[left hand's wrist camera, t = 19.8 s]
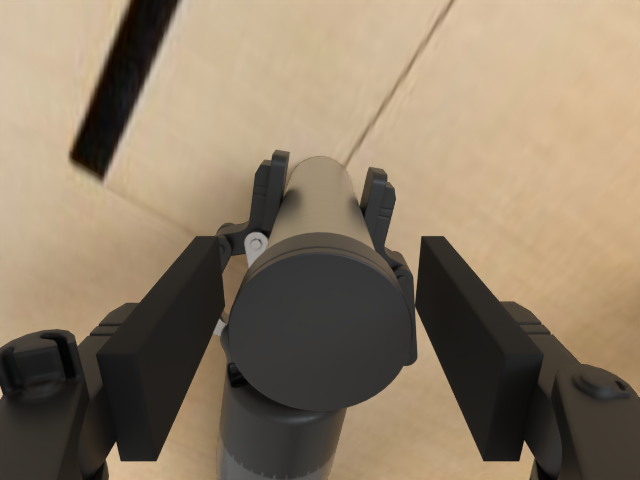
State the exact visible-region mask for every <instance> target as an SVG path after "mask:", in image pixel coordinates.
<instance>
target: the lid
mask: <svg viewBox="0 0 640 480" xmlns="http://www.w3.org/2000/svg"><path fill="white" fill-rule="evenodd" d="M227 331H228V343H229V347H230V351H231V354H232V357H233V359H234V362H235V363H236V365H237V367H238V369H239V371H240V372H241V373H242V375H243V376H244V377H245V379H246V380H247V381H248V382H249V383H250V384H251V385H252V386H253V387H255V388H256V389H257V390H258V391H259V392H261V393H262V394H264V395H265V396H267V397H269V398H270V399H272V400H275V401H277V402H279V403H281V404H284V405H287V406H290V407H294V408H298V409H303V410H311V411H328V410H337V409H342V408H347V407H350V406H354V405H356V404H359V403H361V402H364V401H366V400H368V399H370V398H371V397H373V396H375V395H376V394H378V393H379V392H381V391H382V390H383V389H385V388H386V387H387V386H388V385H389V384H390V383H391V382H392V381H393V380H394V379H395V377H396V376H397V375H398V374H399V372H400V371H401V369H402V368H403V366H404V364H405V362H406V360H407V358H408V355H409V352H410V348H411V344H412V337H413V324H412V319H411V314H410V311H409V308H408V305H407V302H406V300H405V298H404V295H403V292H402V290H401V288H400V285H399V283H398V280H397V278H396V276H395V274H394V272H393V270H392V269H391V267H390V266H389V265H388V263H387V262H386V261H385V260H384V259H383V258H382V257H381V256H380V254H378V253H377V252H376V251H375V250H373V249H372V248H371V247H369V246H367V245H366V244H364V243H362V242H361V241H358V240H356V239H354V238H351V237H348V236H344V235H341V234H335V233H329V232H313V233H304V234H300V235H295V236H292V237H289V238H287V239H284V240H282V241H280V242H278V243H276V244H274V245H273V246H271V247H270V248H268V249H267V250H265V251H264V252H263V253H262V254H261V255H260V256H259V257H258V258H257V259H256V260H255V261H254V262H253V264H252V265H251V266H250V268H249V269H248V271H247V273H246V274H245V277H244V279H243V281H242V284H241V286H240V288H239V291H238V293H237V296H236V298H235V301H234V303H233V306H232V308H231V311H230V315H229V319H228V329H227Z"/></svg>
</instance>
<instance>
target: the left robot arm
mask: <svg viewBox="0 0 640 480" xmlns="http://www.w3.org/2000/svg"><path fill="white" fill-rule="evenodd" d="M224 307H225V300H224V290H223V279H222V269H221V258H220V248H219V237H218V236H196V237H195V238H194V240H193V241H192V242H191V243H190V244H189V245H188V247H187V248H186V249H185V250H184V251H183V253H182V254H181V255H180V256H179V257H178V258H177V260H176V261H175V262H174V263H173V264H172V265H171V267H170V268H169V269H168V270H167V271H166V272H165V274H164V275H163V276H162V277H161V278H160V279H159V281H158V282H157V283H156V284H155V285H154V287H153V288H152V289H151V290H150V291H149V292H148V294H147V295H146V296H145V297H144V298H143V299H142V301H141V302H140V303H125V304H124V305H122V306H120V307H119V308H117V309H115V310H113V311H112V312H110V313H109V314H108V315H107V316H106V317H105V318H104V319H103V320H102V321H101V322H100V323H99V326H97V327H96V328H95V329H94V330H93V331H92V332H91V333H90V336H87V337H86V338H85V339H84V340H83V341H82V342H81V343H80V345H79V346H78V347H77V344H76V340H75V336H74V335H73V334H72V333H70V332H69V331H65V330H59V329H54V330H43V331H39V332H35V333H31V334H27V335H25V336H22V337H20V338H17V339H15V340H12V341H10V342H9V343H7V344H6V345H4V346H2V347H1V348H0V387H1V390H2V392H3V396H2V398H1V399H0V480H108V479H109V473H108V467H107V463H106V458H107V456H108V454H109V452H110V451H111V449H112V447H113V446H114V444H115V442H116V443H117V447H118V451H119V456H120V460H121V461H157V459H158V456H159V454H160V452H161V450H162V447H163V445H164V443H165V441H166V438H167V436H168V434H169V432H170V429H171V427H172V425H173V422H174V420H175V418H176V416H177V413H178V411H179V409H180V407H181V404H182V402H183V400H184V398H185V395H186V393H187V391H188V389H189V386H190V384H191V382H192V380H193V377H194V375H195V373H196V371H197V368H198V366H199V364H200V361H201V359H202V357H203V355H204V352H205V350H206V348H207V346H208V343H209V341H210V339H211V337H212V334H213V332H214V330H215V328H216V325H217V323H218V321H219V319H220V316H221V314H222V312H223V309H224ZM415 307H416V309H417V312H418V314H419V316H420V319H421V321H422V323H423V325H424V328H425V330H426V332H427V334H428V337H429V339H430V341H431V343H432V346H433V348H434V350H435V352H436V355H437V357H438V359H439V361H440V364H441V366H442V368H443V371H444V373H445V375H446V377H447V380H448V382H449V384H450V386H451V389H452V391H453V393H454V395H455V398H456V400H457V402H458V404H459V407H460V409H461V411H462V413H463V416H464V418H465V420H466V422H467V425H468V427H469V429H470V432H471V434H472V436H473V438H474V441H475V443H476V445H477V447H478V450H479V452H480V454H481V456H482V459H483V461H519V460H520V456H521V451H522V447H523V443H524V440H525V442H526V443H527V445H528V447H529V449H530V450H531V452H532V454H533V455H534V457H535V459H534V463H533V467H532V470H531V474H530V478H529V480H640V397H638V395H637V393H636V392H635V391H634V390H633V389H632V387H631V386H630V385H629V384H628V383H626V382H625V381H624V380H622V379H621V378H619V377H618V376H616V375H614V374H612V373H610V372H608V371H606V370H604V369H601V368H598V367H594V366H591V365H587V364H581V363H580V362H579V361H578V360H577V359H576V358H575V357H574V356H573V355H572V354H571V353H570V352H569V351H568V350H567V349H566V348H565V347H564V346H563V345H562V344H561V343H560V342H559V341H558V339H557V338H556V337H555V336H554V335H551V334H550V331H549V330H548V329H547V328H546V327H545V326H544V325H542V324H541V322H540V321H539V320H538V319H537V318H536V316H535V315H534V314H533V313H532V312H531V311H529V310H527V309H526V308H524V307H522V306H521V305H519V304H517V303H515V302H499V301H498V299H497V298H496V297H495V296H494V295H493V294H492V292H491V291H490V290H489V289H488V288H487V287H486V285H485V284H484V283H483V282H482V281H481V279H480V278H479V277H478V276H477V275H476V274H475V272H474V271H473V270H472V269H471V268H470V267H469V265H468V264H467V263H466V262H465V261H464V260H463V258H462V257H461V256H460V255H459V254H458V253H457V251H456V250H455V249H454V248H453V247H452V245H451V244H450V243H449V242H448V241H447V240H446V238H445V237H444V236H422V237H421V248H420V258H419V269H418V279H417V290H416V300H415Z"/></svg>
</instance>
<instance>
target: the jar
mask: <svg viewBox="0 0 640 480" xmlns="http://www.w3.org/2000/svg"><path fill="white" fill-rule="evenodd" d="M313 232H329V233H335V234H341V235H344V236H348V237H351V238H354V239H356V240H358V241H361V242H362V243H364V244H366V245H367V246H369V247H371V248H372V249H373V250H375V249H374V246H373V243H372V241H371V238H370V235H369V232H368V229H367V226H366V223H365V220H364V217H363V215H362V212H361V209H360V206H359V203H358V200H357V197H356V194H355V191H354V189H353V186H352V183H351V180H350V177H349V175H348V173H347V171H346V169H345V168H344V167H343V166H342V165H341V164H340V163H339V162H337V161H336V160H334V159H332V158H329V157H324V156H317V157H311V158H308V159H306V160H304V161H303V162H301V163H300V164H299V165H298V166H297V167H296V168H295V169H294V171H293V172H292V174H291V177H290V180H289V183H288V186H287V188H286V191H285V194H284V197H283V200H282V203H281V206H280V209H279V212H278V215H277V217H276V220H275V223H274V226H273V229H272V232H271V235H270V238H269V241H268V244H267V247H266V249H265V250H267V249H268V248H270V247H271V246H273V245H274V244H276V243H278V242H280V241H282V240H284V239H287V238H289V237H292V236H295V235H300V234H304V233H313Z"/></svg>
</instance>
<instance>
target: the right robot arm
mask: <svg viewBox="0 0 640 480" xmlns="http://www.w3.org/2000/svg"><path fill="white" fill-rule="evenodd" d="M289 153H290V152H286V151H281V150H275V151H274V153H273V155H272V160H271V161H270V160H264V161H263V162H262V163H261V165H260V166H259V168H258V170H257V172H256V173H255V180H254V188H253V196H252V204H251V213H250V220H249V221H248V222H246V223H243V224H237V225H235V224H233V223H225V224H223V225H222V226H221V227H220V228H219V230H218V231H217V234H216V235H215V236H218V237H219V248H220V258H221V269H222V273H223V271H224V269H225V267H226V265H227V263H228V261H229V259H230V257H231V256H234V255H240V254H246V256H247V261H248V267H249V268H250V266H251V265H252V264H253V262H254V261H255V260H256V259H257V258H258V257H259V256H260V255H261V254H262V253H263V252H264V251H265V249H266V247H267V244H268V241H269V238H270V235H271V232H272V229H273V226H274V223H275V220H276V217H277V215H278V212H279V209H280V206H281V203H282V200H283V195H284V188H285V181H286V175H287V168H288V161H289ZM395 201H396V197H395V190H394V187H393V186H392V185H391V184H390V182H387V174H386V172H385V171H384V170H383V169H378V168H373V167H369V169H368V172H367V176H366V180H365V185H364V189H363V194H362V198H361V203H360V209H361V212H362V215H363V217H364V220H365V223H366V226H367V229H368V232H369V235H370V238H371V241H372V243H373V246H374V249H375V251H376V252H377V253H378V254H380V256H381V257H382V258H383V259H384V260H385V261H386V262H387V263H388V265H389V266H390V267H391V269H392V270H393V272H394V274H395V276H396V278H397V280H398V283H399V285H400V288H401V290H402V292H403V295H404V298H405V300H406V302H407V305H408V308H409V311H410V314H411V319H412V324H413V337H412V344H411V348H410V352H409V355H408V358H407V360H406V362H405V364H404V366H409V365H411V364H413V363H414V362H415V361H416V360H417V340H416V321H415V303H414V284H413V275H412V273H411V271H410V269H409V267H408V265H407V263H406V261H405V259H404V257H403V256H402V254H401V253H399V252H396V251H391V250H389V249H388V248H386V247H385V246H384V244H385V240H386V236H387V232H388V228H389V224H390V220H391V216H392V212H393V209H394V205H395ZM228 319H229V315H227V314H226V313H225V312H224V310H223V312H222V314H221V316H220V319H219V321H218V323H217V325H216V328H215V330H214V332H213V334H215V335H217V336H220V341H221V345H222V347H223V349H224V351H225V353H226V357H227V367H226V375H225V383H224V392H223V400H222V409H221V417H220V426H219V434H218V443H217V452H216V470H217V480H328V477H329V474H330V471H331V468H332V464H333V460H334V456H335V452H336V448H337V444H338V440H339V436H340V432H341V429H342V425H343V421H344V417H345V413H346V409H347V408H342V409H337V410H328V411H311V410H303V409H298V408H294V407H290V406H287V405H284V404H281V403H279V402H277V401H275V400H272V399H270V398H269V397H267V396H265V395H264V394H262V393H261V392H259V391H258V390H257V389H256V388H255V387H253V386H252V385H251V384H250V383H249V382H248V381H247V380H246V379H245V377H244V376H243V375H242V373H241V372H240V371H239V369H238V367H237V365H236V363H235V362H234V359H233V357H232V354H231V351H230V347H229V343H228V331H227V329H228Z"/></svg>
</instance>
